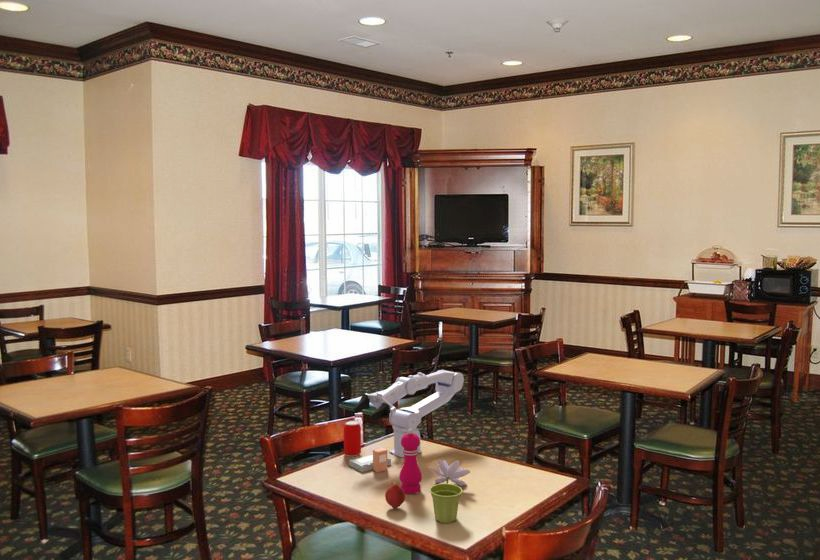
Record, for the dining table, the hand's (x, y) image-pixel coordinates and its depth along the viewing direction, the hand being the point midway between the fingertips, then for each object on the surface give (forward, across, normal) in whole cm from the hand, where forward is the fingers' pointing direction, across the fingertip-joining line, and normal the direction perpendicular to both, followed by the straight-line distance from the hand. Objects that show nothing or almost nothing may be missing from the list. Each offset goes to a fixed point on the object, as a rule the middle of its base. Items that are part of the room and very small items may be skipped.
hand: (362, 414), depth 240 cm
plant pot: (+17, +50, +5) cm, 53 cm away
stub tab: (+3, +10, +17) cm, 20 cm away
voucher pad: (+2, +4, +18) cm, 19 cm away
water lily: (-1, +38, +13) cm, 40 cm away
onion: (+22, +34, +7) cm, 41 cm away
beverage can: (-1, -8, +22) cm, 23 cm away
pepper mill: (+9, +29, +11) cm, 33 cm away
